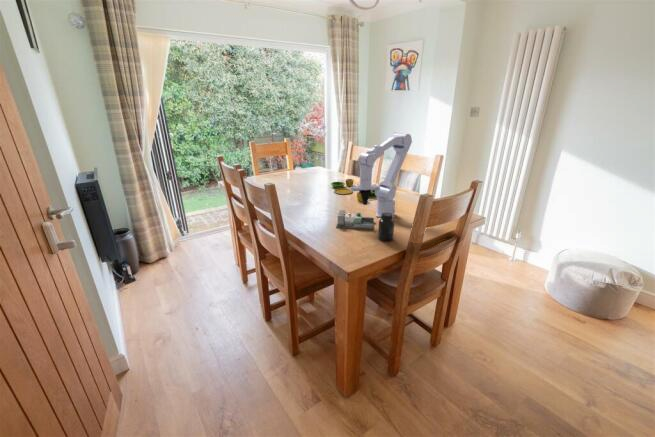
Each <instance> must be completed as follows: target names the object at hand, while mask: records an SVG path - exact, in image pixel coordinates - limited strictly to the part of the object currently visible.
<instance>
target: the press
mask: <svg viewBox="0 0 655 437" xmlns="http://www.w3.org/2000/svg"><path fill="white" fill-rule="evenodd" d="M346 212H347V211H346V210H345V209H344V210H342V209H340V210H339V211H338V213H337V223H336V225H335V228H337V229H349V230H350V229H351V230H362V231H363V230H367V231H374V222H375V221H374V220H375V217H371V216H362V222H361V224H358V223H355V218H354V225H349V224H345V214H347V213H346Z"/></svg>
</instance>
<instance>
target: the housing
mask: <svg viewBox="0 0 655 437" xmlns="http://www.w3.org/2000/svg"><path fill="white" fill-rule="evenodd" d="M354 219H355V214H354V213H350V212H348V213H346V214H345V224H349V225H354Z"/></svg>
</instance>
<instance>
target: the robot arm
mask: <svg viewBox="0 0 655 437" xmlns="http://www.w3.org/2000/svg"><path fill="white" fill-rule="evenodd" d="M412 143H413V138H412V136H411V134H409V133H400V132H393V133H391V134H389V137H388V138H387V139H386V140H384V142H382V143H381V144H374V146H373V147H371V149H369V150H367V151H366V152H363V153H360V154H359V156H358V159H357V162H358V164H359V185H360V186H358V185H356V186H352V187H350V189H351V192H352V193H353V192H358V191H359V192H360V194H361V197H362V201H363V202H362V204H363V205H364V206H367V204H368V202H369V201H368V199H370V198H369V196H370V195H371V190H375V195H376V196H377V198H376V199H378V200H377V206H376V212H375V217H376V218H377V217H378V218H381V215H382V213H385V212H388V213H391V214H393V216H392V217H393V218H392V219H394V218H395V213H396V210H395V209H396V208H395V207H396V199H394V198H395V196H396V191H397V187H396V185H395V183H396V180H397V179H398V175H399V173H400V171H401V169H402V167H403V165H404V164H403V163H404V161H405V159H406V156H407V154H408V152H409V150H410V147H411V145H412ZM390 148H393V150H394V152H395V154H394V157H393V159H392V161H391V164H390V166H389V168H388V171H387V173H386V176H385V178H384V180H383V181H380V182H379V184H378V185H376V186H373V184H372V180H373V178H372V176H373V166H374V165H375V163H376V162H377V160H378V159H379V158H381V157H382V156H383V155H384V153H385V151H387V150H389V149H390Z"/></svg>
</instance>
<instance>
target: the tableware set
mask: <svg viewBox="0 0 655 437" xmlns="http://www.w3.org/2000/svg"><path fill="white" fill-rule="evenodd" d="M354 182H355V180H354V179H353V178H346V179H345V182H344V181H333V182H331V183H330V185H331V187H333V193H335V194H336V195H350V194H352V193H353V192H351V187H355V186H360V183H356V184H354ZM344 186H346V187H348V188H344ZM372 186H377V184H376V183H375V184H372ZM356 198H357V200H356V201H357V202H359V203H363V201H362V197H361V194H360V192H359V191H356ZM372 200H373V201H378V199H377V196H376V195H375V190H371V195H370V196H369V198H368V201H367V202H372Z"/></svg>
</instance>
